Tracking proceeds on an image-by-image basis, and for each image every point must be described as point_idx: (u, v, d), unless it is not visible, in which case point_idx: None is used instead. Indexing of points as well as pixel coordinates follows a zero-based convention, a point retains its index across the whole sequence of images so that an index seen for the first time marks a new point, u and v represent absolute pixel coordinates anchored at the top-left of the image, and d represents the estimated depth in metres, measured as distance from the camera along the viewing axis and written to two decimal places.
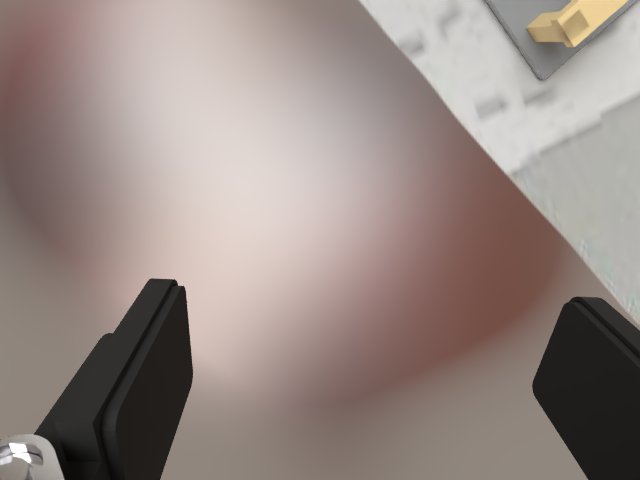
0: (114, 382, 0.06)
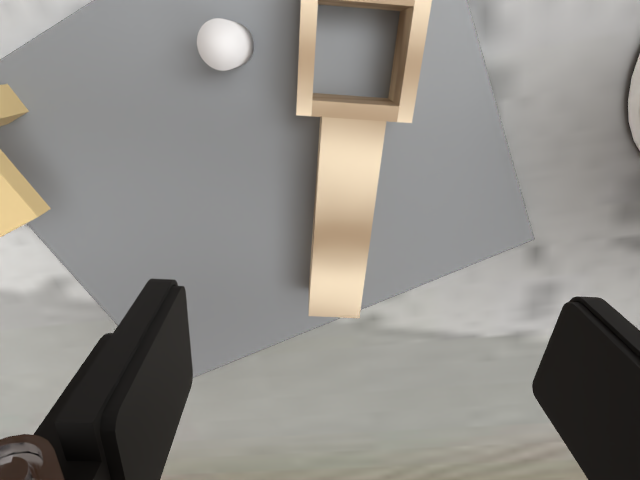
0: (114, 382, 0.06)
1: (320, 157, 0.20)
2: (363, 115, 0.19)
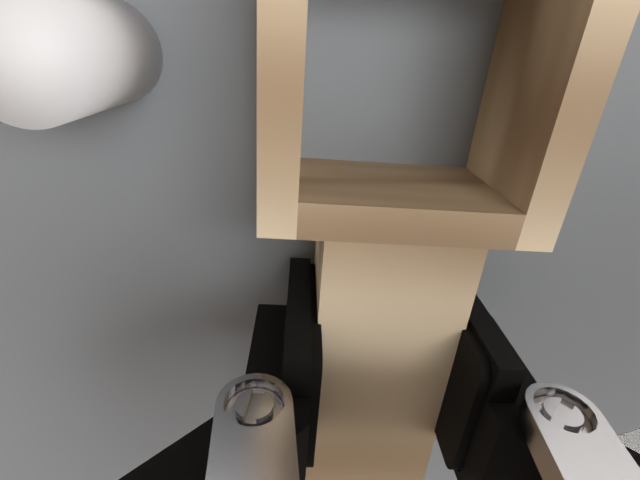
0: (311, 335, 0.07)
1: None
2: (431, 236, 0.07)
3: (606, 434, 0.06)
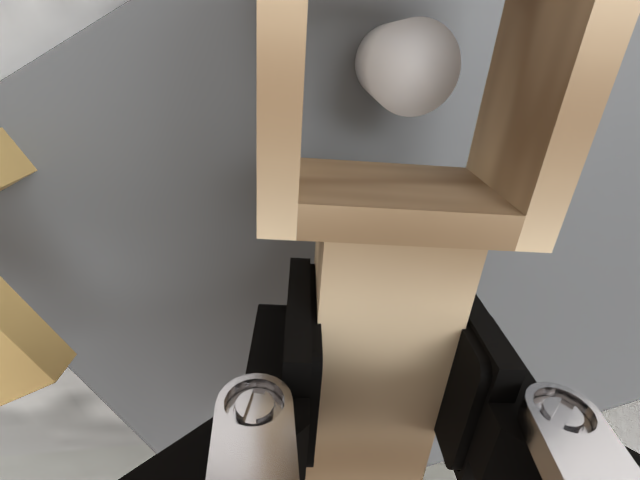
0: (311, 336, 0.07)
1: None
2: (431, 237, 0.07)
3: (606, 434, 0.06)
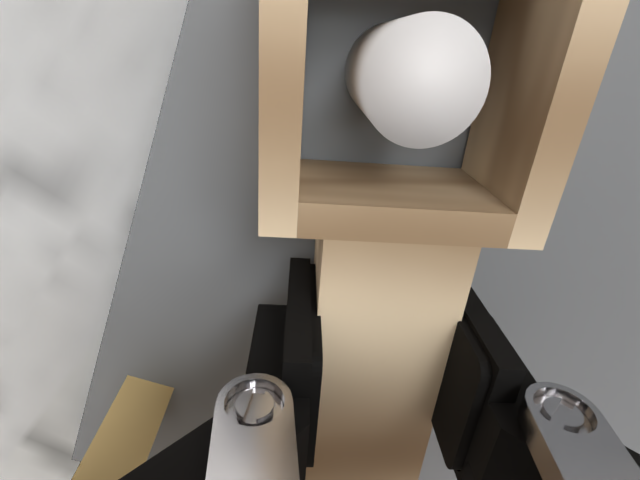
0: (311, 335, 0.07)
1: None
2: (426, 235, 0.08)
3: (606, 434, 0.06)
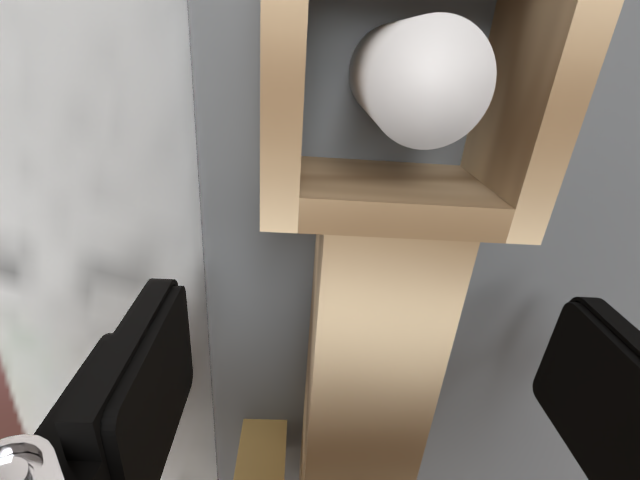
0: (115, 383, 0.06)
1: (320, 317, 0.08)
2: (425, 230, 0.08)
3: None
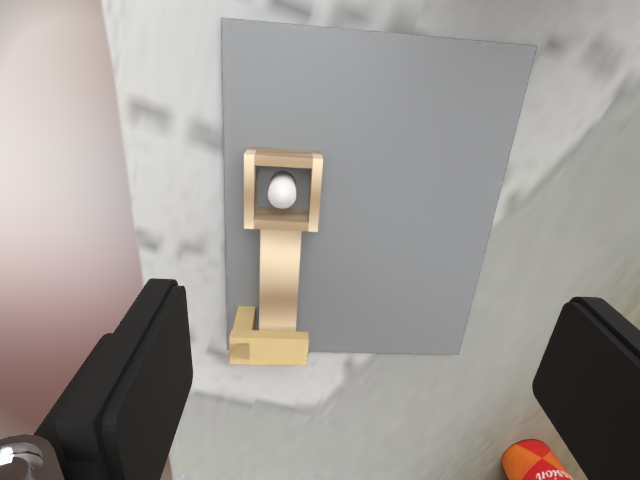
0: (115, 382, 0.06)
1: (260, 252, 0.30)
2: (286, 228, 0.30)
3: None
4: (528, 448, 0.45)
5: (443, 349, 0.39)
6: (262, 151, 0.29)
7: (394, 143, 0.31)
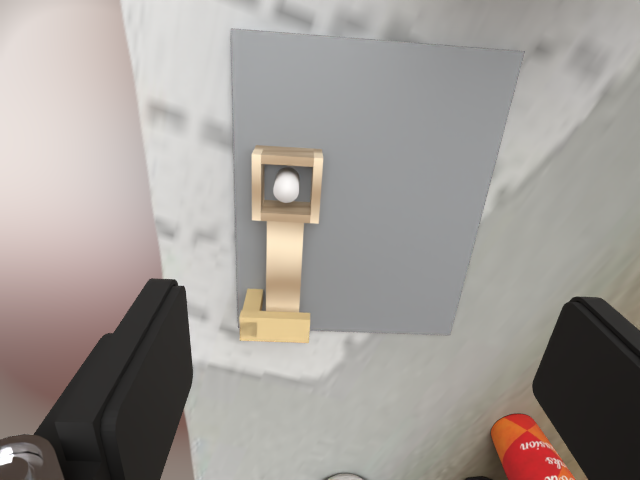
0: (114, 383, 0.06)
1: (267, 242, 0.34)
2: (290, 220, 0.33)
3: None
4: (515, 421, 0.48)
5: (435, 330, 0.42)
6: (268, 150, 0.32)
7: (390, 142, 0.33)
